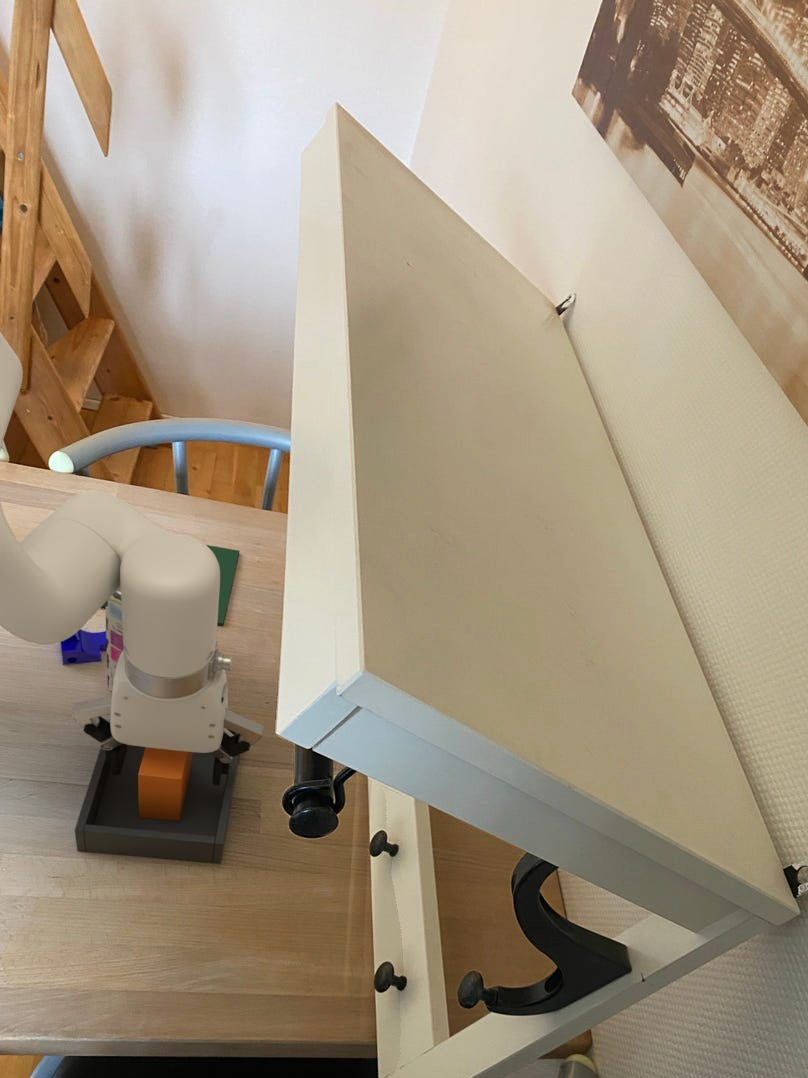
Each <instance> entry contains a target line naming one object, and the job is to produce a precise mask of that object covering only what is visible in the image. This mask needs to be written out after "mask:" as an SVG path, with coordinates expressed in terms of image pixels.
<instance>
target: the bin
mask: <svg viewBox="0 0 808 1078" xmlns="http://www.w3.org/2000/svg"><path fill="white" fill-rule="evenodd" d="M108 721H110V719H108ZM227 730H228V731H230V732H231V733H232V734H233V735H236V734H238V733H236V732H233V731H231V730H229V729H227ZM99 748H100V747H99ZM144 751H145V747H142V746H134V745H128V744H127V753H126V756H125V760H124V763H123V767H122V770H121V774H118V775H112V766H111V762H106V752H105V750H103V749H101V748H100V749H99V751H98V755H97V758H96V761H95V764H94V768H93V770H92V774H91V778H90V780H89V783H88V787H87V789H86V793H85V795H84V798H83V799H84V800H83V801H82V802H83V803H82V805H81V809H80V812H79V815H78V818H77V821H76V825H75V828H74V837H75V844H76V851H77V852H80V853H89V854H100V855H113V856H122V857H123V856H125V857H137V858H147V859H158V860H169V861H182V862H192V863H193V862H194V863H205V864H215V865H221V863H222V859H223V855H224V854H223V853H224V847H225V842H226V837H227V836H226V835H227V830H228V824H229V818H230V814H231V808H232V802H233V797H234V791H235V785H236V778H237V773H238V768H239V763H240V756H241V754H240V755H237V756H235V757H233V758H232V762H231V763H230V768H229V773H228V775H226V774H222V775H221V780H220V785H219V786H218V785H214V784H212V782H213V768H214V760H215V756H213V755H212V754H211V753H210V752H208V753H198V752H193V755H192V767H191V772H190V776H189V781H188V785H187V790H186V794H185V799H184V803H183V808H182V812H181V817H180V821H171V820H160V819H150V818H140V817H139V787H138V773H139V770H140V766H141V762H142V759H143V755H144Z"/></svg>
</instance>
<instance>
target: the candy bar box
mask: <svg viewBox="0 0 808 1078" xmlns="http://www.w3.org/2000/svg"><path fill="white" fill-rule="evenodd" d="M105 606H106V608H105V631H106V638H107V651H106V663H107V664H106V673H107V690H108V691H109V692H111V693H112V690H113V683H114V678H115V673H116V667H117V663H118V659H119V657H120V654H121V652H122V651H123V650H124V645H123V626H122V606H121V592H119V591H117V592H114V593H113V595H112V596H111V597H110V598H109V599H108V600H107V601H106V602H105Z"/></svg>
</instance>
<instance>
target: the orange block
mask: <svg viewBox="0 0 808 1078" xmlns="http://www.w3.org/2000/svg"><path fill="white" fill-rule="evenodd" d="M192 755H193V752H187V751H177V750H168V749H159V748H150V747H145V751H144V755H143V759H142V762H141V766H140V770H139V773H138V787H139V817H140V818H150V819H160V820H171V821H180V817H181V812H182V808H183V803H184V799H185V794H186V790H187V785H188V781H189V776H190V772H191V767H192Z"/></svg>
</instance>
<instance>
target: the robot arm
mask: <svg viewBox="0 0 808 1078" xmlns="http://www.w3.org/2000/svg"><path fill="white" fill-rule="evenodd" d="M22 365H23V364H22V362H21V361H20V359H19V357H18V355H17V354H16V352H15V351H14V349H13V348H12V347H11V345H10V343H9V342H8V341H7V340H6V338H5V336H4V335H3V334H2V332H1V331H0V451H1V450H2V447H3V442H4V438H5V435H6V433H7V429H8V427H9V423H10V420H11V418H12V415H13V411H14V410H15V409H14V408H15V405H16V403H17V399H18V396H19V394H20V391H21V387H22V384H23V378H24V370H23V369H24V368H23V366H22ZM206 545H207V544H205V543H204V542H202V541H201V540H199V539H197V538H195V537H193V536H190V535H187V534H184V533H178V532H171V531H170V530H168V529H166V528H165V527H163V526H162V525H160V524H159V523H157V522H155V521H154V520H153V519H151V518H150V517H148V516H146V514H144V513H142V512H141V511H140V510H138V509H137V508H135V507H133V505H131V504H129V503H128V502H126V501H125V500H123V499H121V498H120V497H118V496H116V495H114V494H112V493H109V492H106V491H103V490H98V489H86V490H82V491H79V492H77V493H75V494H73V495H72V496H70V497H69V498H68V499H67V500H66V501H64V502H63V503H62V504H61V505H60V506H59V507H58V508H57V509H55V510H54V511H53V512H52V513H51V514H50V515H48V516H47V518H45V519H44V520H43V521H42V522H40V523H39V524H38V525H37V526H36V527H35V528H34V529H33V530H32V531H30V533H28V534H27V535H26V536H24V538H22V540H21V541H19V540H18V539H17V537H16V535H15V534H14V532H13V531H12V528H11V527H10V525H9V523H8V520H7V518H6V516H5V513H4V509H3V506H2V503H1V501H0V627H2V628H3V629H4V630H5V631H7V632H9V633H10V634H12V635H13V636H15V637H17V638H19V639H21V640H23V641H25V642H29V643H33V644H37V645H54V644H57V643H61V642H62V641H64V640H66V639H68V638H69V637H71V636H73V635H74V634H75V633H77V632H78V631H79V630H80V629H81V630H82V628H83V627H84V626H85V625H86V624H87V623H88V622H89V621H90V620H91V619H92V618H93V616H94V615H96V613H98V611H99V610H100V609H102V608H101V607H102V606H103V604H104V603H105V602H106V601H107V600H108V599H109V598H110V597H111V596H112V595H113V593H114V592H117V591H119V592H121V606H122V626H123V645H124V650H123V651H122V652H121V654H120V657H119V659H118V663H117V667H116V673H115V678H114V683H113V690H112V692H111V695H109V696H105V697H100V698H94V699H89V700H84V701H83V700H82V701H79V702H75V703H74V705H73V709H72V711H71V717H72V718H73V720H75V722H77V724H78V725H79V726H81V727H83V732H84V733H85V734H86V735H88V736H90V737H91V738H92V739H94V740H96V741H98V742H99V743H100V744H99V748H101V749H103V750H105V752H106V762H111V766H112V775H118V774H121V770H122V767H123V763H124V760H125V756H126V753H127V744H128V745H134V746H142V747H150V748H159V749H168V750H177V751H187V752H198V753H208V752H210V753H211V754H212V755H213V756H215V760H214V768H213V782H212V784H214V785H218V786H219V785H220V780H221V775H222V774H226V775H228V773H229V768H230V763H231V762H232V758H233V757H235V756H237V755H240V756H241V755H243V754H244V753H247V752H248V751H249V750H250V748H251V747H252V746H254V745H255V744H256V743H258V741H260V740H261V739H262V738H263V731H264V726H263V724H262V723H259V722H257V721H254V720H252V719H249V718H247V717H245V716H243V715H241V714H239V713H236V712H234V711H232V710H230V709H229V693H228V692H229V691H228V689H229V688H228V680H227V674H226V673H227V672H226V671H231V668H232V663H233V655H226V654H225V653H223V652H221V651H220V649H218V641H217V634H218V625H217V620H218V604H219V588H220V568H219V564H218V561H217V559H216V557H215V555H214V553H213V552H212V551H211V550H210V549H209V548H208V547H207V546H206ZM105 716H110V717H109V720H110V721H109V720H107V719H106V718H104V717H105ZM227 729H229V730H231V731H233V732H236V733H238V734H236V735H233V734H232V733H231V732H230V731H228V730H227Z"/></svg>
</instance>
